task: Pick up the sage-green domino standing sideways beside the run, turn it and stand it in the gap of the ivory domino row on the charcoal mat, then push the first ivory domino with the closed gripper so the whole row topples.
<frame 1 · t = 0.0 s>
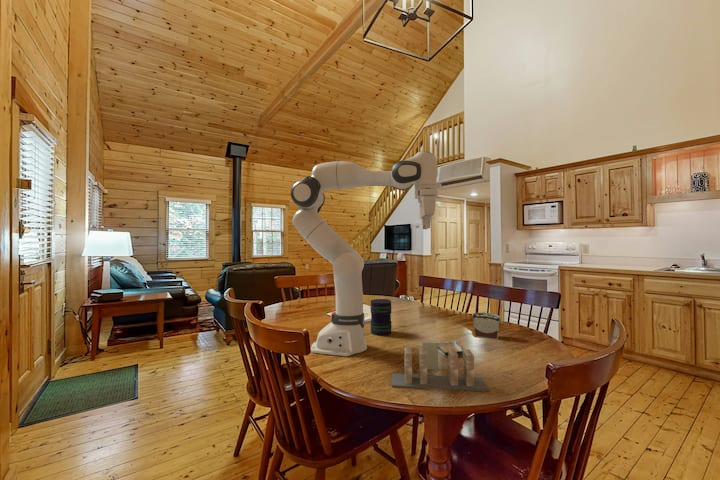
hand: (426, 228, 123), 48 cm above the table, tool pointing down, fingers open, 8 cm apart
sage domino: (430, 368, 106), on the table
domino mat: (437, 382, 95), on the table
food container: (487, 336, 141), on the table
domino 1: (408, 379, 96), point 1 cm above the table, touching domino mat
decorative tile: (448, 352, 122), on the table
storage jar: (381, 333, 147), on the table
domino 4: (453, 381, 95), point 1 cm above the table, touching domino mat
domino 5: (468, 382, 95), point 1 cm above the table, touching domino mat
domino 2: (423, 380, 96), point 1 cm above the table, touching domino mat
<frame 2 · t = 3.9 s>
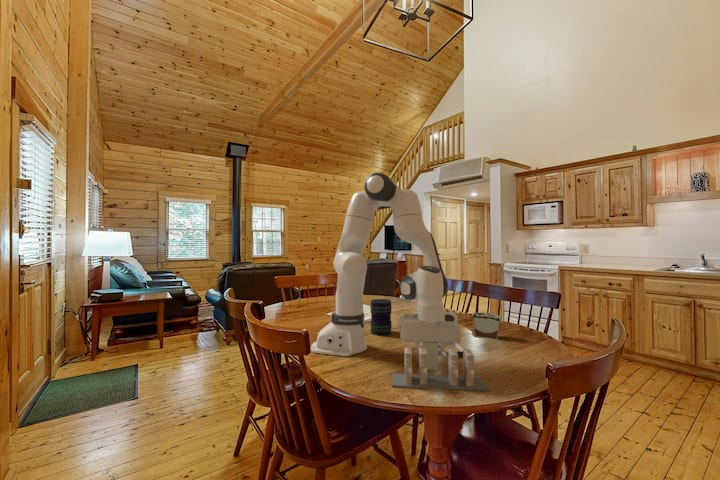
hand: (430, 354, 106), 5 cm above the table, tool pointing down, fingers closed on sage domino, 5 cm apart
sage domino: (430, 368, 106), on the table, touching gripper
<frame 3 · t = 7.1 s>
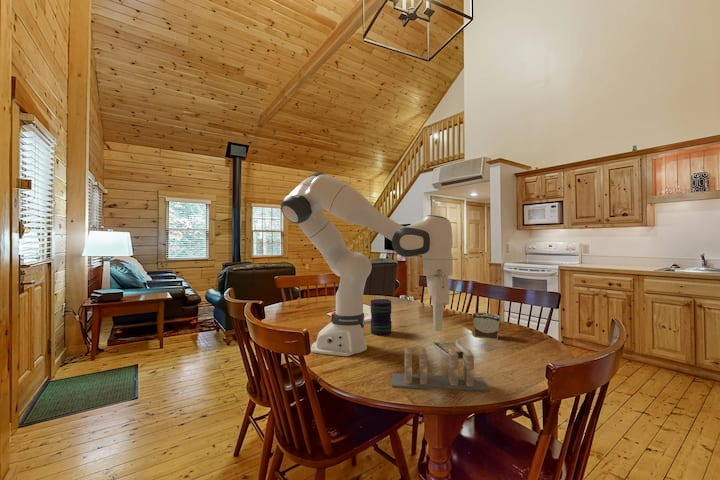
hand: (437, 313, 95), 21 cm above the table, tool pointing down, fingers closed on sage domino, 5 cm apart
sage domino: (437, 328, 95), point 17 cm above the table, touching gripper
when the fingers open (6 cm above the table, at t = 10.4 s): sage domino drops 1 cm, resting on domino mat.
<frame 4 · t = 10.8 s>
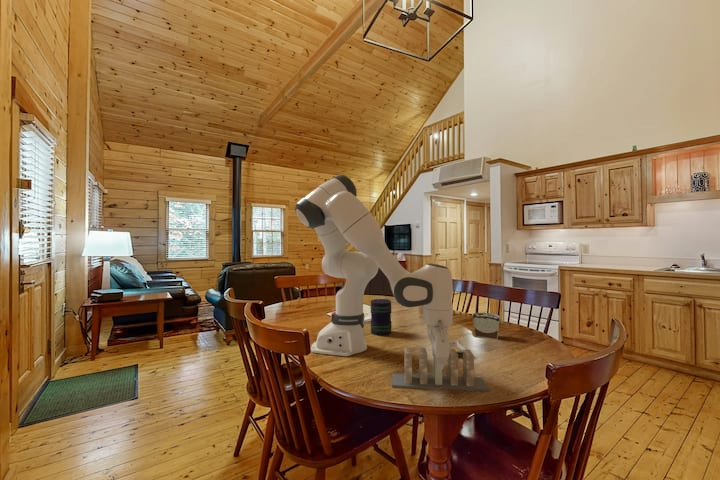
hand: (437, 362, 95), 6 cm above the table, tool pointing down, fingers open, 8 cm apart
sage domino: (437, 380, 95), point 1 cm above the table, touching domino mat
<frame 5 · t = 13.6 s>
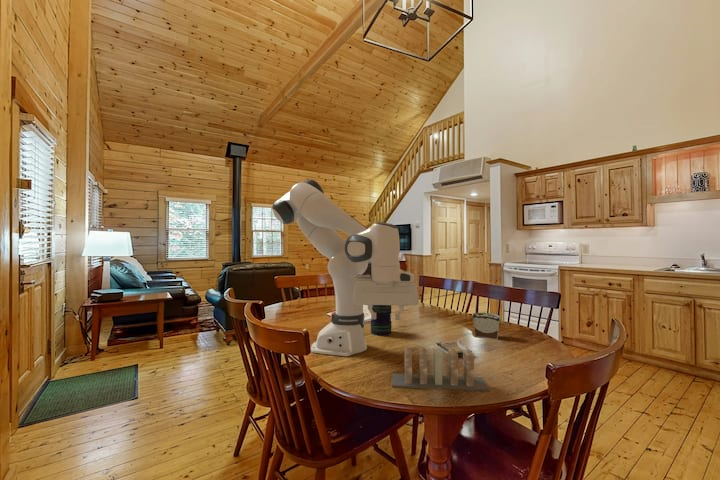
hand: (385, 319, 97), 19 cm above the table, tool pointing down, fingers open, 6 cm apart
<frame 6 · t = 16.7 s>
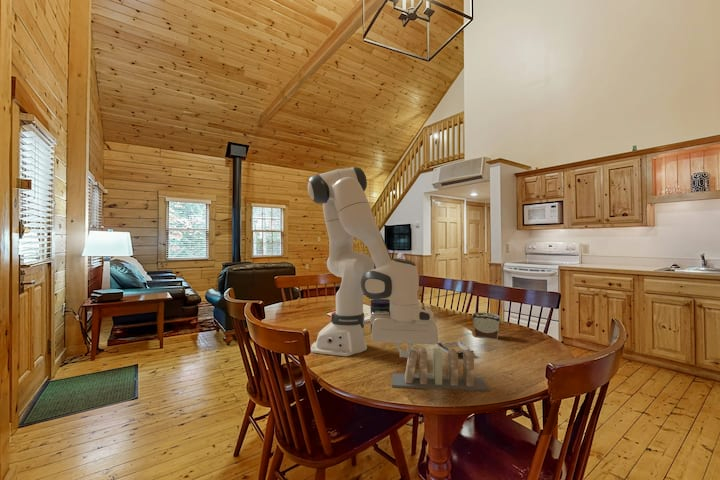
hand: (404, 356, 96), 8 cm above the table, tool pointing down, fingers closed
domino 1: (408, 379, 96), point 1 cm above the table, tilted 11°, touching domino mat
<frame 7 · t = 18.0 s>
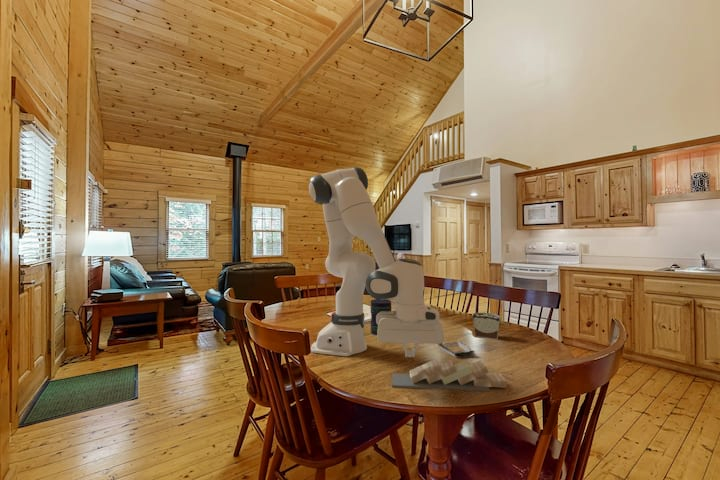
hand: (409, 356, 96), 8 cm above the table, tool pointing down, fingers closed
sage domino: (441, 378, 95), point 1 cm above the table, tilted 64°, touching domino 2, domino 4, domino mat
domino 1: (411, 376, 96), point 1 cm above the table, tilted 64°, touching domino 2, domino mat
domino 4: (457, 378, 95), point 2 cm above the table, tilted 63°, touching domino 5, sage domino
domino 5: (472, 379, 94), point 2 cm above the table, tilted 90°, touching domino 4, domino mat
domino 2: (426, 377, 96), point 2 cm above the table, tilted 64°, touching domino 1, sage domino
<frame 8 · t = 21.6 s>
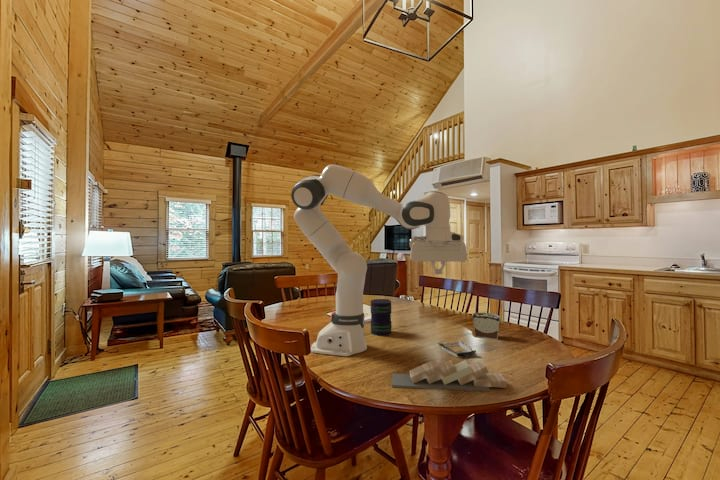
hand: (438, 273, 115), 31 cm above the table, tool pointing down, fingers closed
at the end: domino 5 tilted 90°; sage domino inside the target area (0.6 cm from its centre), point 1.5 cm above the table; sage domino tilted 64° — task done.
